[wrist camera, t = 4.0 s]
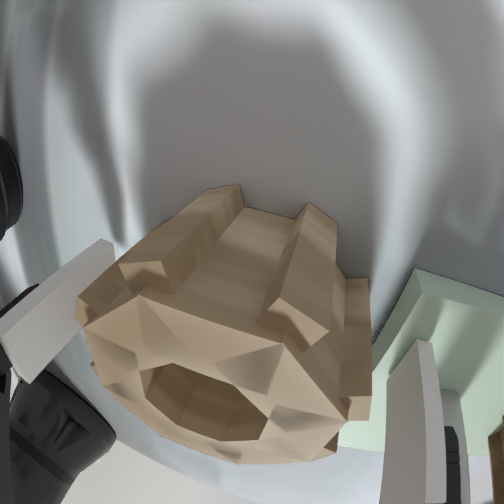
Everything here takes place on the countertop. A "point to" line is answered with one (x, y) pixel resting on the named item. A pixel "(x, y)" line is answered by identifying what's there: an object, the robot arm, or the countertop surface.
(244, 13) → the countertop surface
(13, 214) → the camera lens
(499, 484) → the walnut gear
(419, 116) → the countertop surface
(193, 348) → the maple gear
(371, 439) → the gear board
